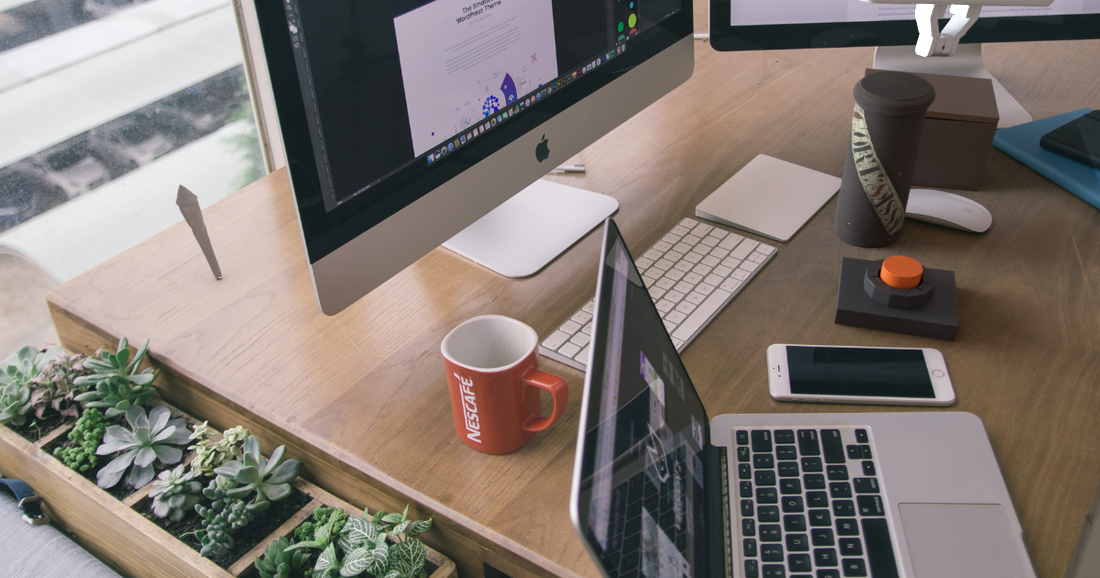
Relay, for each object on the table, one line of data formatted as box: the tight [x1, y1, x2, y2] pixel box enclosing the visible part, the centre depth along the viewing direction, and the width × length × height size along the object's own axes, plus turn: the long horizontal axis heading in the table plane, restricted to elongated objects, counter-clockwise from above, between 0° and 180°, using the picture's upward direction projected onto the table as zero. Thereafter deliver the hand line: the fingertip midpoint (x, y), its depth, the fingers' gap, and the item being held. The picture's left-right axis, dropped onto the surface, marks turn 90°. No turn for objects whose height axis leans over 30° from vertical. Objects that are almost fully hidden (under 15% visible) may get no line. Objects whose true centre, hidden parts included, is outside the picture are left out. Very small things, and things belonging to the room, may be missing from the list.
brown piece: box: [863, 67, 1000, 125], centre depth 105 cm, size 16×13×1 cm
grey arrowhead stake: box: [175, 184, 223, 279], centre depth 97 cm, size 2×3×14 cm
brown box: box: [911, 117, 999, 192], centre depth 108 cm, size 16×13×10 cm
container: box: [832, 70, 936, 248], centre depth 93 cm, size 9×9×20 cm
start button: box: [880, 255, 923, 290], centre depth 84 cm, size 4×4×2 cm
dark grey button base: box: [833, 256, 960, 343], centre depth 86 cm, size 12×10×4 cm
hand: (933, 55), depth 70 cm, fingers closed
